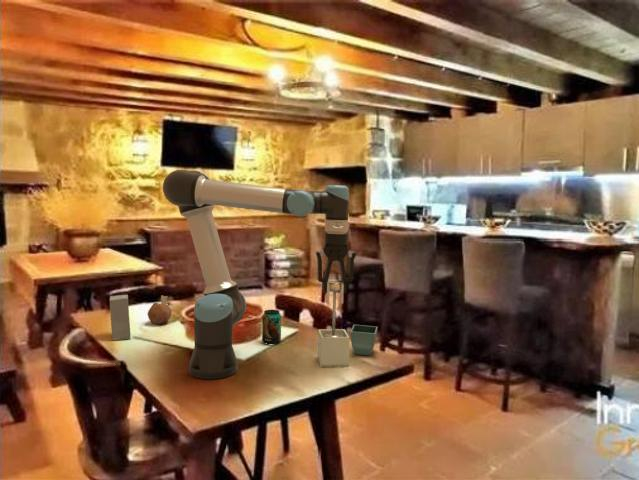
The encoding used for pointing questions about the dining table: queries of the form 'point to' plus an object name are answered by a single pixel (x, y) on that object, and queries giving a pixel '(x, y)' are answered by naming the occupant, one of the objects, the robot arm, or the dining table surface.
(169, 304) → the architectural model
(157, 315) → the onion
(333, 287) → the plunger
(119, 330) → the skincare box
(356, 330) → the flower pot
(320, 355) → the cream square planter
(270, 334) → the beverage can
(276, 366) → the dining table surface
